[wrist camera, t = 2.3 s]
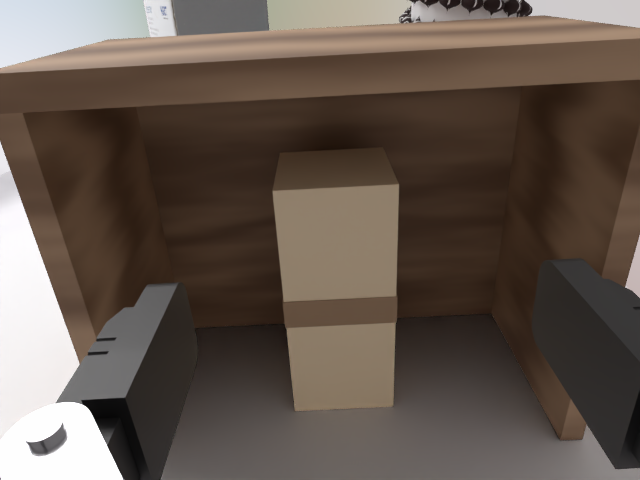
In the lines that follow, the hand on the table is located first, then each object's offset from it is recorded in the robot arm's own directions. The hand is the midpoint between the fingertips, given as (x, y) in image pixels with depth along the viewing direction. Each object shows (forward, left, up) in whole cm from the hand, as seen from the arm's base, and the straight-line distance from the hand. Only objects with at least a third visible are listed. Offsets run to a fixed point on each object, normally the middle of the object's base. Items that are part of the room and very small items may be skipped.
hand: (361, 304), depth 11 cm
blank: (+7, +9, -13) cm, 17 cm away
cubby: (+7, +9, -13) cm, 17 cm away
